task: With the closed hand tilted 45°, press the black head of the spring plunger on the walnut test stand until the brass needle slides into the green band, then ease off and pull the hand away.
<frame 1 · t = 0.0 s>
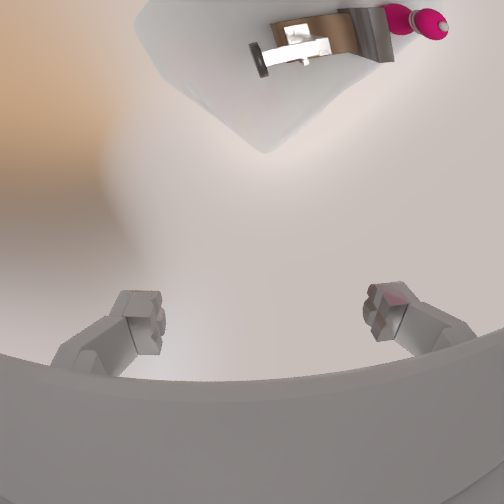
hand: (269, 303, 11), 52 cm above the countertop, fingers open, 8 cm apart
plunger: (287, 51, 34), point 13 cm above the countertop, slide at 0.0 cm
pepper mill: (386, 18, 37), on the countertop
test stand: (310, 35, 41), on the countertop
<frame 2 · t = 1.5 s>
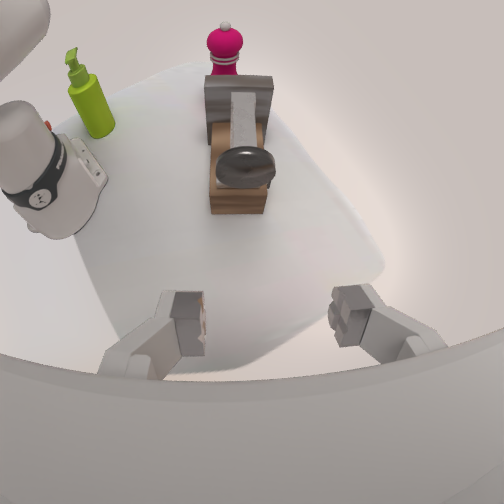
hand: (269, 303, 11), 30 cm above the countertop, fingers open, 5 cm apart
plunger: (248, 169, 32), point 13 cm above the countertop, slide at 0.0 cm
soap dispenser: (102, 127, 49), on the countertop
pepper mill: (224, 105, 52), on the countertop
test stand: (236, 176, 46), on the countertop
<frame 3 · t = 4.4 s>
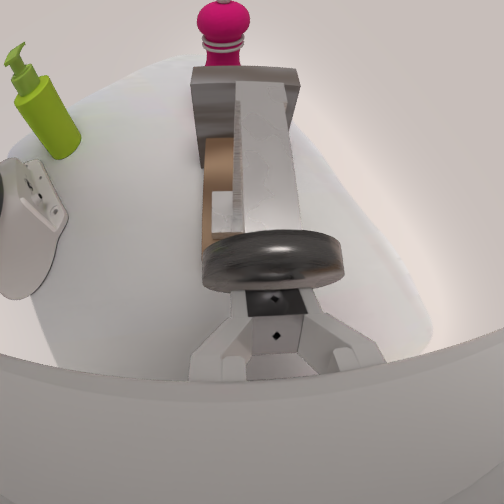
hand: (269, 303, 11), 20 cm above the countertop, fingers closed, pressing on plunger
plunger: (265, 223, 19), point 13 cm above the countertop, slide at 0.9 cm, touching gripper, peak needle
soap dispenser: (66, 143, 36), on the countertop
pepper mill: (223, 110, 39), on the countertop
test stand: (241, 216, 33), on the countertop
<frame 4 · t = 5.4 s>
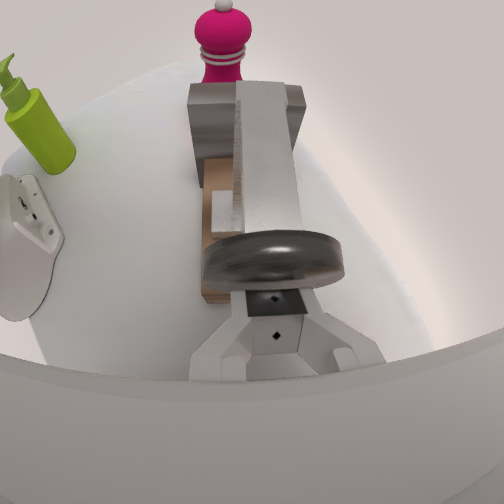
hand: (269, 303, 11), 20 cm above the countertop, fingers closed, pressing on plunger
plunger: (265, 222, 19), point 13 cm above the countertop, slide at 4.0 cm, touching gripper, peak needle
soap dispenser: (60, 157, 35), on the countertop
pepper mill: (222, 123, 38), on the countertop
test stand: (242, 240, 32), on the countertop
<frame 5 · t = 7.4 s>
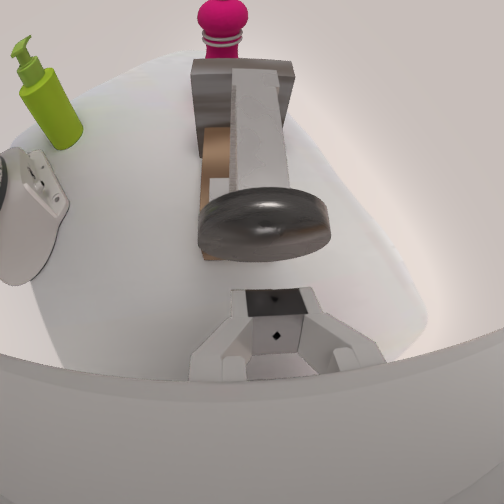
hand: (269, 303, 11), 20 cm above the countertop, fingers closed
plunger: (260, 204, 19), point 13 cm above the countertop, slide at 0.6 cm
soap dispenser: (68, 134, 36), on the countertop
pepper mill: (221, 103, 39), on the countertop
test stand: (238, 203, 34), on the countertop
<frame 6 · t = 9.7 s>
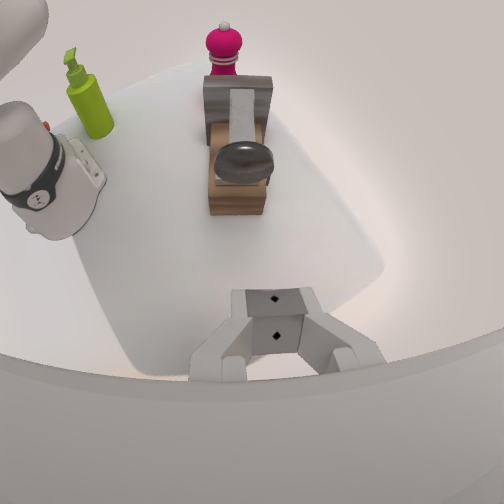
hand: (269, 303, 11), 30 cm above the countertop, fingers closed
plunger: (247, 166, 32), point 13 cm above the countertop, slide at 0.6 cm
soap dispenser: (101, 127, 48), on the countertop
pepper mill: (223, 106, 52), on the countertop
test stand: (235, 177, 46), on the countertop
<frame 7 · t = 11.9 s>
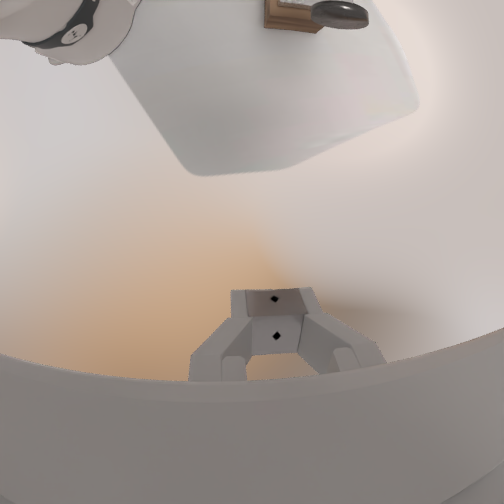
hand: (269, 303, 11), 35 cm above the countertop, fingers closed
plunger: (322, 1, 21), point 13 cm above the countertop, slide at 0.6 cm
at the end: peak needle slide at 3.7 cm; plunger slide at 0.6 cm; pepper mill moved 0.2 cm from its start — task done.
